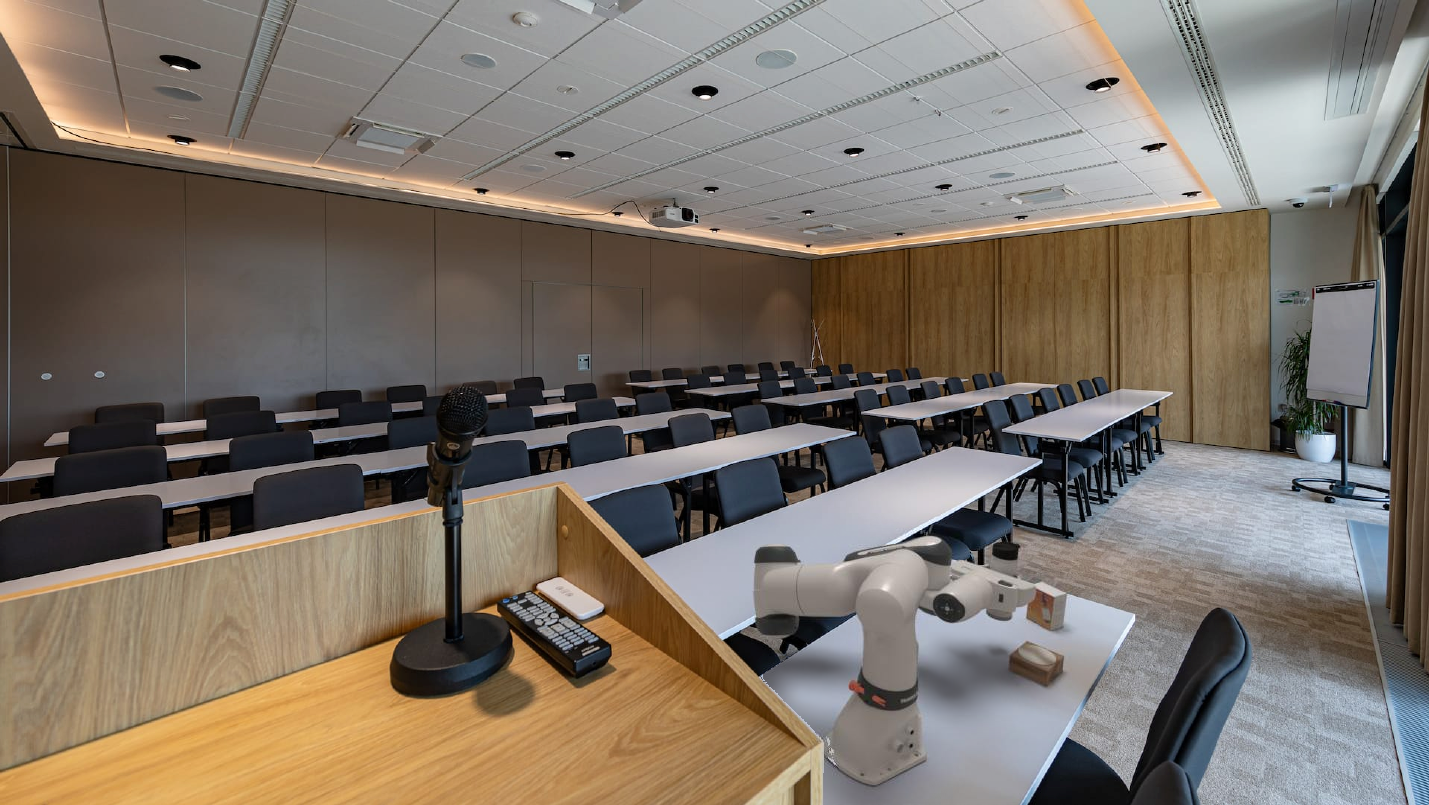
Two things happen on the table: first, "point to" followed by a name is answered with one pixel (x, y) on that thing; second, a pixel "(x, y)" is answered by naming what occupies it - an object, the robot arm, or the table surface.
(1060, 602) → the small box
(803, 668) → the table surface
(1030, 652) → the plinth
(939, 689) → the table surface
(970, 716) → the table surface
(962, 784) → the table surface
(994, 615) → the travel mug
